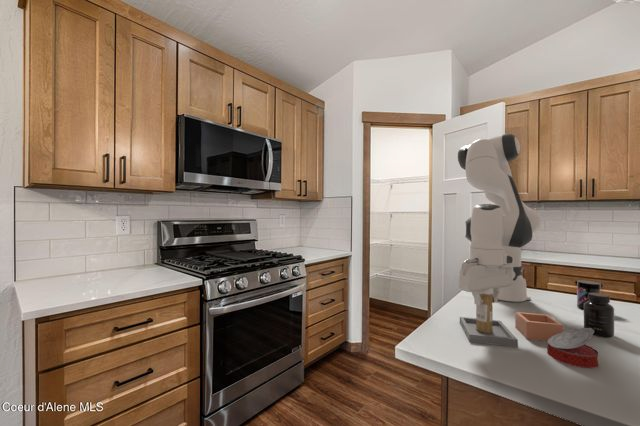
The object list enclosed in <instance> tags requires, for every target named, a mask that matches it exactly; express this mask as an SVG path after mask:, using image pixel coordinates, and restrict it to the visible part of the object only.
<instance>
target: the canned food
mask: <svg viewBox="0 0 640 426" xmlns="http://www.w3.org/2000/svg"><path fill="white" fill-rule="evenodd" d="M593 333H594V330H593V329H592V328H584V327H582V328H574V329H571V330H565V331H563V332H562V333H558V334H556V335H554V336H552V337H551V338H549V339H548V341H546V342H547V343H546V344H547V346H546V347H547V348H546V353H547V355H548V356H549V357H550V358H552V359H554V360H556V361H558V362H560V363H562V364H563V363H564V364H566V365H569V366H572V367H577V368H584V369H593V368H598V367H599V352H598V350H597V349H595V348H594V347H592V346H590V345H588V342H590V340H592V336H594V335H593Z"/></svg>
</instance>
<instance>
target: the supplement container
mask: <svg viewBox="0 0 640 426" xmlns="http://www.w3.org/2000/svg"><path fill="white" fill-rule="evenodd" d="M576 284H577V285H576V287H577V288H576V291H577V292H576V306H577V308H578V309H580V310H583V311H584V303H585V302H587V301H589V299H588V293H601V289H602V287H601V286H602V284H601V283H600V282H596V281H593V280H584V279H583V280H582V279H581V280H577V283H576Z"/></svg>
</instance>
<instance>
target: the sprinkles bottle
mask: <svg viewBox="0 0 640 426" xmlns="http://www.w3.org/2000/svg"><path fill="white" fill-rule="evenodd" d="M492 295H493V289H488V290H481V294H480V297H481V299H483V305H476V304H475V306H476V307H475V316H476V317H475V318H476V329H477V330H478V331H480V332H483V333H492V332H493V329H492V321H493V320H494V319H493V314H494V312H493V309H494V308H493V303H492Z"/></svg>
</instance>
